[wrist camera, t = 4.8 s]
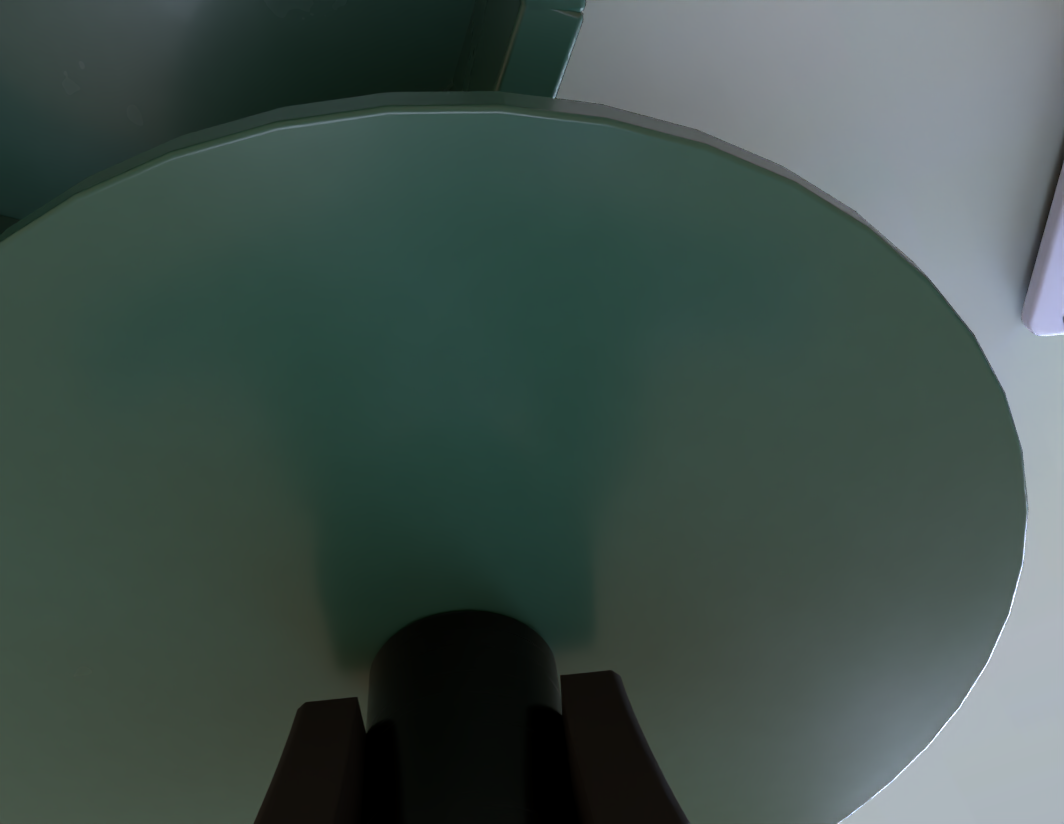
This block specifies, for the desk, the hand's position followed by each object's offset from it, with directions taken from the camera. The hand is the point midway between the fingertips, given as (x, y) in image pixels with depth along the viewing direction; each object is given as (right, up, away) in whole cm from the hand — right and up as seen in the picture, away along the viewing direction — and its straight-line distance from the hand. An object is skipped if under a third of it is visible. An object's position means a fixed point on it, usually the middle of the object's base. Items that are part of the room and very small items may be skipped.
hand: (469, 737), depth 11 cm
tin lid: (0, +1, +1) cm, 2 cm away
